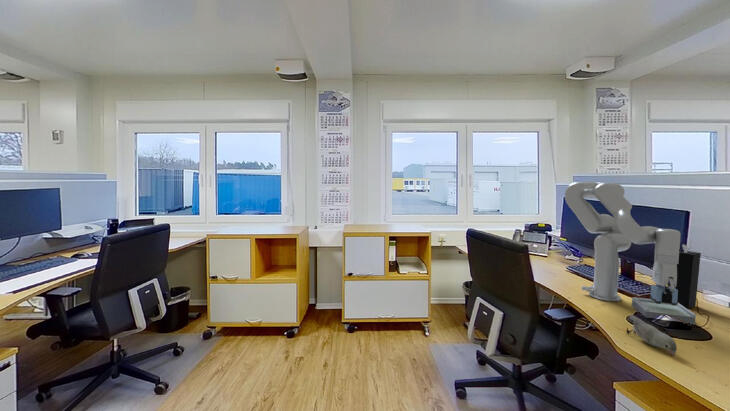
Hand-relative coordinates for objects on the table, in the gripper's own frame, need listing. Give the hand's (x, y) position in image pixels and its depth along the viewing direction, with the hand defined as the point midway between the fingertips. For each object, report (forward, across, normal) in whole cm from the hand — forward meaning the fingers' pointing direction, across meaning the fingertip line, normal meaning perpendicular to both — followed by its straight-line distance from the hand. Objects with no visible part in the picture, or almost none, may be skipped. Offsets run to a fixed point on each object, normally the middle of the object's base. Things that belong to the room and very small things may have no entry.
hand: (663, 300), depth 139 cm
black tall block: (+7, -18, +14) cm, 24 cm away
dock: (+7, 0, 0) cm, 7 cm away
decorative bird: (+7, +33, -16) cm, 37 cm away
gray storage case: (+1, 0, 0) cm, 1 cm away
